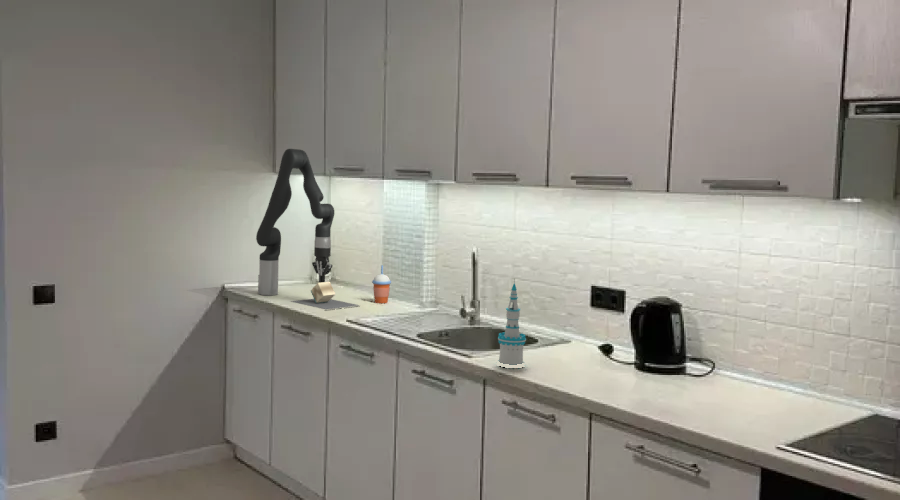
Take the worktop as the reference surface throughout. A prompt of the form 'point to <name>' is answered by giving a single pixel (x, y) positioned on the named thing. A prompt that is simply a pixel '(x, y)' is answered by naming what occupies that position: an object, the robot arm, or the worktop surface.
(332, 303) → the rubber mat
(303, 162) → the robot arm
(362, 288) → the worktop surface
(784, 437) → the worktop surface
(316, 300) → the birch cube
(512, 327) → the model tower
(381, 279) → the cup with straw
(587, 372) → the worktop surface
